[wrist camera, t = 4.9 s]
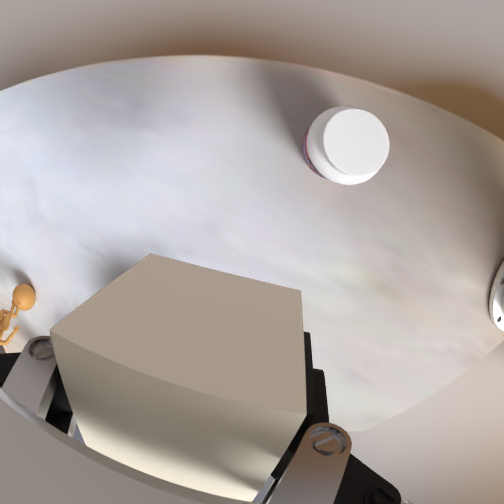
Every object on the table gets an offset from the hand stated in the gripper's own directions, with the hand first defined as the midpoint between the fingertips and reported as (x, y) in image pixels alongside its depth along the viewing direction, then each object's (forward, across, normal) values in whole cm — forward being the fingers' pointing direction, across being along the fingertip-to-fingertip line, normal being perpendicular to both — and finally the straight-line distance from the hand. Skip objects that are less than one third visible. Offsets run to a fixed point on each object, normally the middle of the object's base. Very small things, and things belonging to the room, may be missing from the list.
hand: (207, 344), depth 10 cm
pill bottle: (+18, -5, -9) cm, 20 cm away
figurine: (+17, +31, +17) cm, 40 cm away
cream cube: (+1, 0, 0) cm, 1 cm away
